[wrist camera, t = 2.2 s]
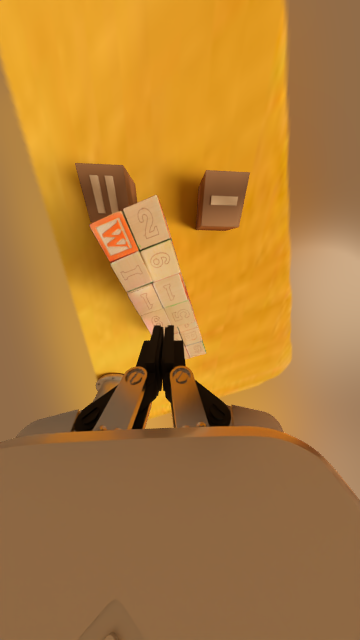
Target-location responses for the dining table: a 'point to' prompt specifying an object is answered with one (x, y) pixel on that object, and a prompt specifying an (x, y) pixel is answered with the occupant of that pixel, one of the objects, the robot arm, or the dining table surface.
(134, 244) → the stack of blocks
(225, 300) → the dining table surface
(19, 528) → the robot arm
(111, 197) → the walnut cube two
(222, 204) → the walnut cube one
